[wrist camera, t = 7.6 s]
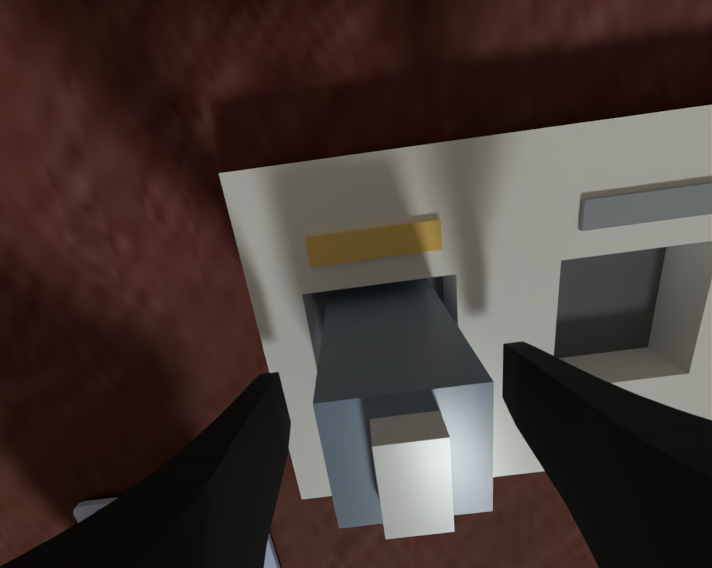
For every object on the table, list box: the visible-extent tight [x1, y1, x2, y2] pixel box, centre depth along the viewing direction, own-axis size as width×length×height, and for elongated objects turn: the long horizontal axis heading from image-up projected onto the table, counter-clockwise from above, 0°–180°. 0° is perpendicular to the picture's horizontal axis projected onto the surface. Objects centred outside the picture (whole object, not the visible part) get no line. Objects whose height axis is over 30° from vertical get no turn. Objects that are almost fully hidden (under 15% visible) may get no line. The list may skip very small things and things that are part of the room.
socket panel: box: [219, 105, 712, 499], centre depth 14 cm, size 18×14×3 cm
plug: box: [313, 278, 494, 539], centre depth 11 cm, size 4×4×8 cm
